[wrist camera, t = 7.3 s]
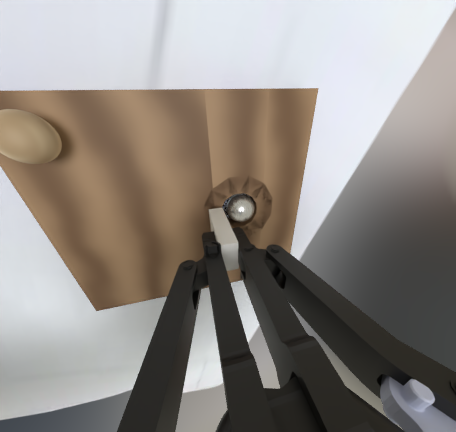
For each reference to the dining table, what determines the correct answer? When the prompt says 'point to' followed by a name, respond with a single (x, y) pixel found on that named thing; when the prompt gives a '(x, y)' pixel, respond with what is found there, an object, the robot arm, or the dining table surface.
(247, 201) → the steel ball
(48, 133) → the beech ball
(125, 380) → the dining table surface
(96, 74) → the dining table surface
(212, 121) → the walnut plate
